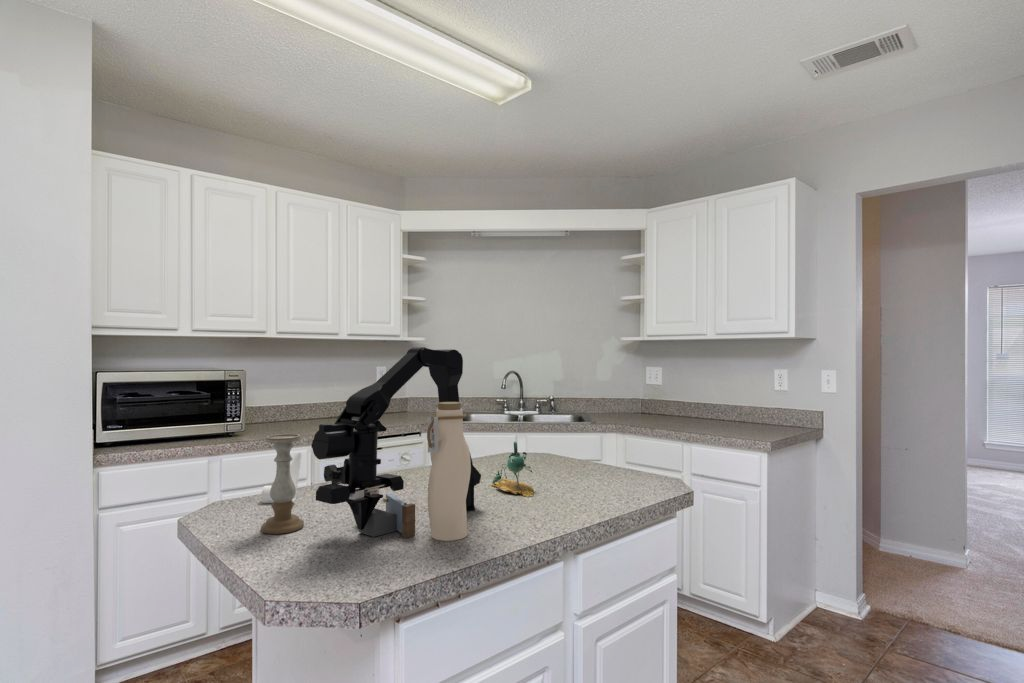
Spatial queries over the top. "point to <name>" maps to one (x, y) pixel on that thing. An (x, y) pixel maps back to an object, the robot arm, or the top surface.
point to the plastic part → (294, 475)
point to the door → (394, 508)
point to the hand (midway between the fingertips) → (360, 529)
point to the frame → (408, 520)
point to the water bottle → (448, 473)
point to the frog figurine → (515, 466)
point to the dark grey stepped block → (380, 523)
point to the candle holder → (282, 488)
